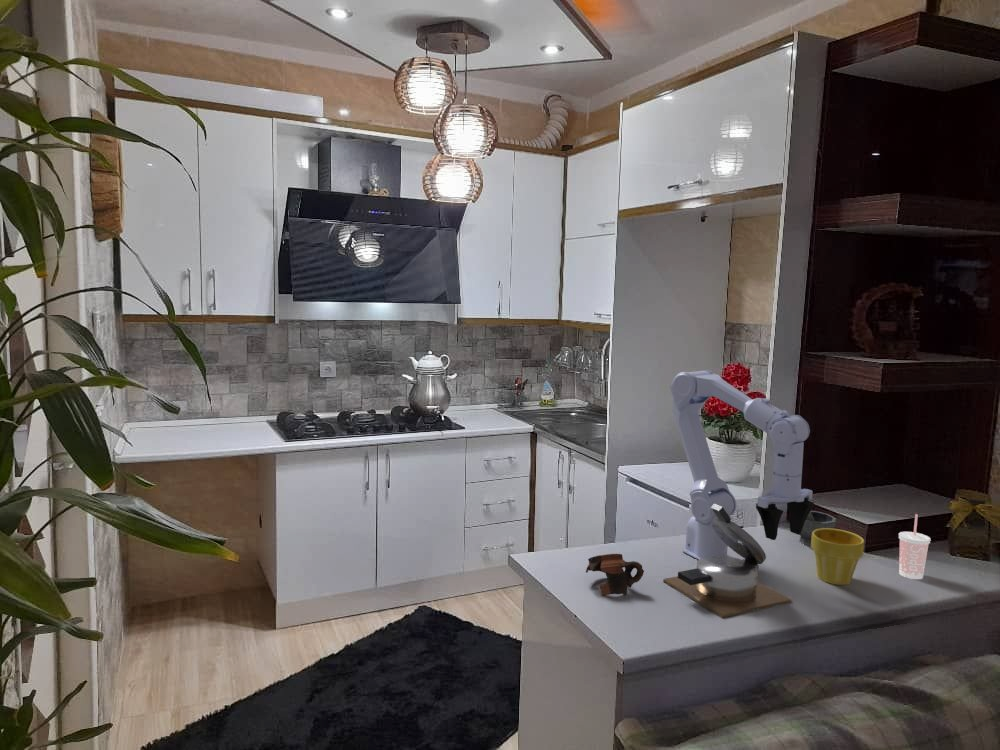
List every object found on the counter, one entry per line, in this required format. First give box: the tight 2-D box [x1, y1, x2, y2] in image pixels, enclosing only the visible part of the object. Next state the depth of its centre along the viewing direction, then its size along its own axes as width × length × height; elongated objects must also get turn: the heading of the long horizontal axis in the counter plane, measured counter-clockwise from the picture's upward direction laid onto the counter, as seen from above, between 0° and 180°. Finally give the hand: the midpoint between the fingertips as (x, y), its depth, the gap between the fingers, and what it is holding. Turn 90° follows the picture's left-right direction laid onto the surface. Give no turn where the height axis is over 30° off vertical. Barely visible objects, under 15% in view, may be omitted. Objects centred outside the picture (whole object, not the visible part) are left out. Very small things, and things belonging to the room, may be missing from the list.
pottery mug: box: [585, 553, 645, 596], centre depth 147 cm, size 12×10×8 cm
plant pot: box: [810, 528, 865, 586], centre depth 153 cm, size 10×10×10 cm
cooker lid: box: [711, 504, 767, 565], centre depth 145 cm, size 17×13×1 cm
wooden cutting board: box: [662, 556, 793, 619], centre depth 145 cm, size 18×20×5 cm
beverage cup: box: [898, 513, 932, 580], centre depth 156 cm, size 6×6×14 cm
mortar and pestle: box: [799, 510, 837, 547], centre depth 174 cm, size 11×9×12 cm
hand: (783, 535), depth 150 cm, fingers open, 7 cm apart
